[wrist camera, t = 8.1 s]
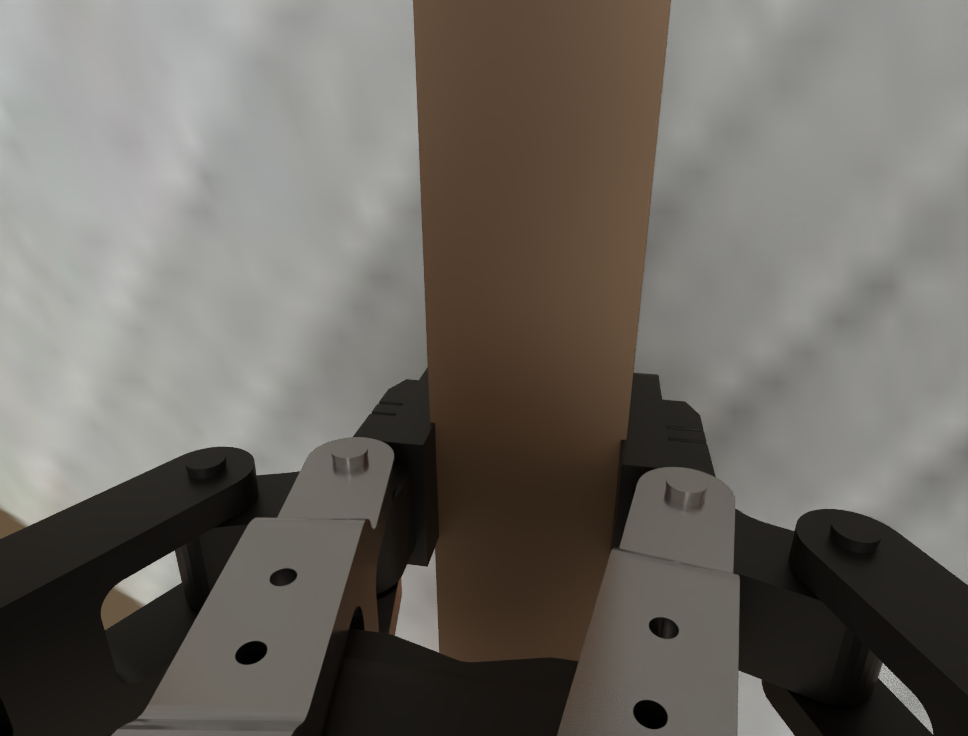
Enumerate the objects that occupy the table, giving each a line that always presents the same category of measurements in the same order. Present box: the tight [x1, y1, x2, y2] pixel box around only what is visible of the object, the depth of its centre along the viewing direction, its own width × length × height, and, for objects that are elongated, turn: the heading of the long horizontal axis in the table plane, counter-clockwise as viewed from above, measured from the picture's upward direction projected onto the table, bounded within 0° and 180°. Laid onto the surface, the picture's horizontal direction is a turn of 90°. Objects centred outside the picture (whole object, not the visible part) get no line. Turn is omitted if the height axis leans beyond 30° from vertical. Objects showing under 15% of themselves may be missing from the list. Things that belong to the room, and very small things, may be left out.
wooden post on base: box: [413, 0, 671, 662], centre depth 13 cm, size 6×20×4 cm, turn 0°
